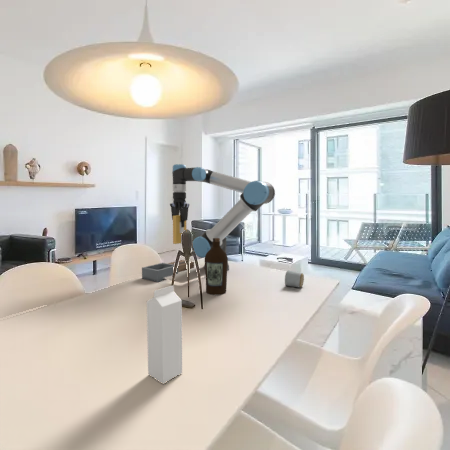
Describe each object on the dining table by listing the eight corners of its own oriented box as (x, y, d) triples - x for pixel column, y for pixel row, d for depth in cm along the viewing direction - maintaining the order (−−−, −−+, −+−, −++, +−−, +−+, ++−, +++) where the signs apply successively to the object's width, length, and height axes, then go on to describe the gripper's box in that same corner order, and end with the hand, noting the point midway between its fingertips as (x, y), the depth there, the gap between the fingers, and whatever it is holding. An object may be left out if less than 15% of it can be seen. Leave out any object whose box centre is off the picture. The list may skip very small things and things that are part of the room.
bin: (178, 276, 167) (177, 265, 167) (157, 282, 155) (157, 270, 155) (162, 272, 174) (162, 262, 174) (142, 278, 162) (141, 267, 161)
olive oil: (207, 287, 146) (207, 236, 144) (229, 289, 145) (229, 237, 142) (202, 295, 136) (202, 239, 133) (225, 296, 134) (226, 240, 132)
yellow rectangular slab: (186, 242, 179) (186, 215, 178) (176, 244, 172) (175, 215, 171) (183, 241, 181) (183, 215, 179) (173, 243, 173) (172, 215, 172)
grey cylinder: (301, 289, 144) (301, 273, 144) (284, 287, 148) (284, 271, 147) (305, 284, 154) (305, 269, 153) (289, 282, 157) (289, 267, 157)
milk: (182, 374, 75) (182, 287, 73) (163, 385, 71) (162, 293, 69) (166, 365, 79) (166, 282, 77) (147, 375, 75) (146, 288, 72)
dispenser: (194, 270, 181) (194, 260, 181) (177, 275, 170) (177, 265, 169) (181, 267, 187) (181, 258, 186) (165, 272, 175) (165, 262, 175)
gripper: (165, 191, 175) (165, 232, 177) (185, 191, 166) (185, 234, 168) (174, 192, 181) (174, 231, 183) (193, 191, 172) (194, 232, 175)
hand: (179, 232), depth 176 cm, fingers closed on yellow rectangular slab, 2 cm apart
